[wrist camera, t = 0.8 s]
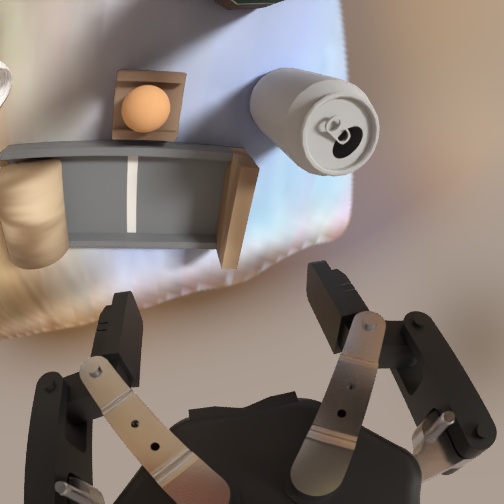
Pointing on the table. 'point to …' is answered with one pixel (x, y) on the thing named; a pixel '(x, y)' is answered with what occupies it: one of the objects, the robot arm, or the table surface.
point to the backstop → (235, 206)
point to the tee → (162, 79)
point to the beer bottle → (246, 3)
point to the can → (316, 120)
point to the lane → (137, 191)
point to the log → (33, 212)
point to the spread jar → (4, 82)
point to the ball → (145, 108)
